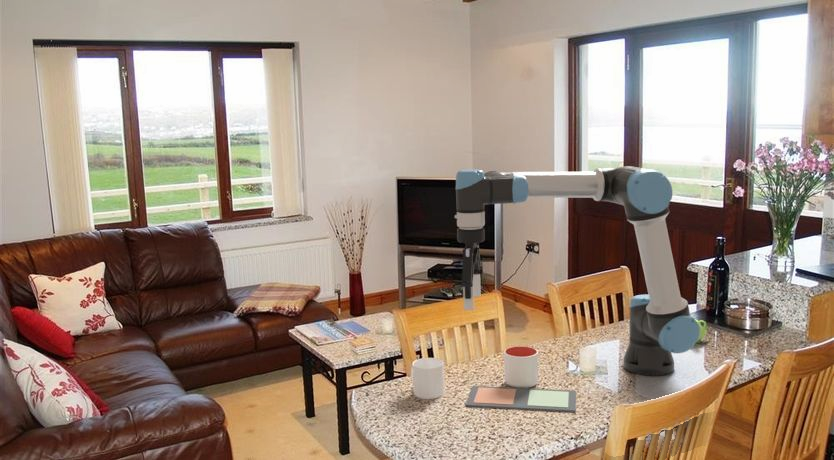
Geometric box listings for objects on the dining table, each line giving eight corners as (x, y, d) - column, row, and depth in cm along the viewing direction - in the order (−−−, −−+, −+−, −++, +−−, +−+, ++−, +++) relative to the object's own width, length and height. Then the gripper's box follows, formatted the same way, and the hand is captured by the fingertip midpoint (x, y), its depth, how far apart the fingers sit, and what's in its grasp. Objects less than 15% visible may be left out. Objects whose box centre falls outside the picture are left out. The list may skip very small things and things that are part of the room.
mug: (450, 394, 212) (449, 364, 211) (423, 402, 208) (422, 370, 206) (429, 382, 222) (427, 353, 221) (403, 388, 218) (401, 359, 216)
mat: (575, 392, 210) (575, 390, 210) (575, 412, 197) (575, 409, 197) (472, 387, 217) (472, 385, 217) (465, 406, 204) (465, 404, 204)
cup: (537, 390, 213) (537, 357, 211) (503, 389, 215) (502, 356, 213) (538, 377, 223) (538, 346, 221) (506, 376, 225) (505, 345, 223)
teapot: (712, 339, 251) (713, 316, 250) (697, 348, 243) (697, 323, 242) (681, 333, 259) (682, 310, 258) (665, 341, 251) (666, 317, 250)
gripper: (464, 219, 210) (465, 291, 214) (449, 235, 186) (451, 315, 190) (489, 219, 209) (491, 291, 212) (478, 235, 185) (479, 316, 188)
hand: (472, 303), depth 201 cm, fingers open, 13 cm apart
